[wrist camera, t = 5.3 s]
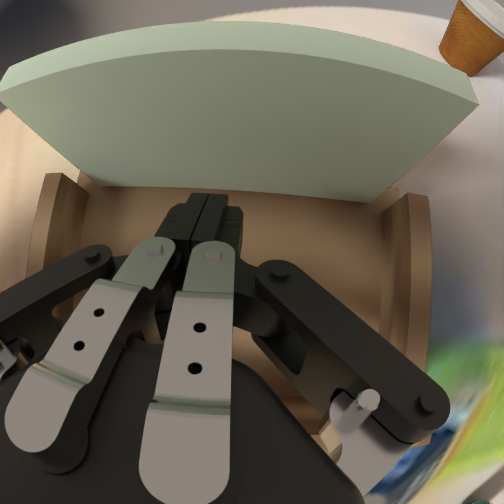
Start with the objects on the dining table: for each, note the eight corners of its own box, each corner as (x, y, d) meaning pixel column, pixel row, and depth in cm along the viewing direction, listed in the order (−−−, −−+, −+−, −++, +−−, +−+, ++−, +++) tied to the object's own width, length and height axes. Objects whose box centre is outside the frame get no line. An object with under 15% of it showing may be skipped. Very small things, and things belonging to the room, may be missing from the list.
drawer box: (384, 398, 20) (445, 439, 11) (66, 366, 20) (-5, 386, 11) (394, 203, 22) (455, 157, 13) (86, 182, 23) (27, 135, 14)
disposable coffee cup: (482, 97, 25) (530, 48, 13) (424, 54, 26) (463, -8, 14) (482, 65, 26) (519, 21, 14) (432, 28, 27) (462, -24, 15)
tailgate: (369, 203, 19) (479, 105, 7) (99, 186, 19) (-7, 94, 7) (368, 174, 19) (461, 63, 7) (106, 159, 19) (15, 57, 8)
